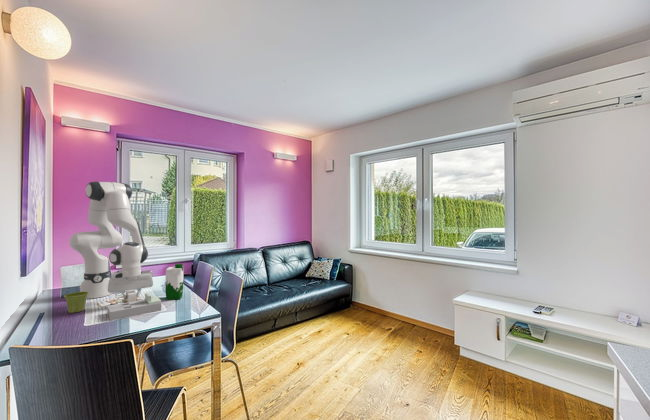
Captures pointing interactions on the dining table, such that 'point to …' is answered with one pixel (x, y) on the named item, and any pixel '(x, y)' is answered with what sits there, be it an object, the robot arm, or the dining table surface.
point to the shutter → (151, 299)
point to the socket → (131, 309)
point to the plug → (131, 296)
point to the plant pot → (76, 301)
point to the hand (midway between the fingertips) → (130, 298)
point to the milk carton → (174, 282)
